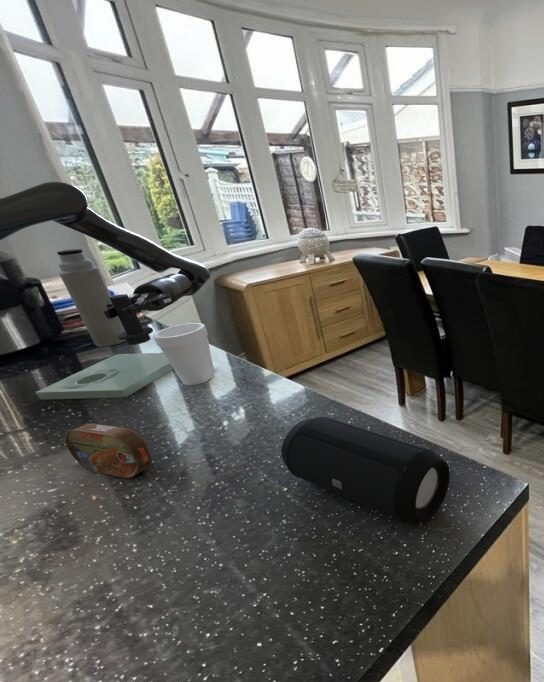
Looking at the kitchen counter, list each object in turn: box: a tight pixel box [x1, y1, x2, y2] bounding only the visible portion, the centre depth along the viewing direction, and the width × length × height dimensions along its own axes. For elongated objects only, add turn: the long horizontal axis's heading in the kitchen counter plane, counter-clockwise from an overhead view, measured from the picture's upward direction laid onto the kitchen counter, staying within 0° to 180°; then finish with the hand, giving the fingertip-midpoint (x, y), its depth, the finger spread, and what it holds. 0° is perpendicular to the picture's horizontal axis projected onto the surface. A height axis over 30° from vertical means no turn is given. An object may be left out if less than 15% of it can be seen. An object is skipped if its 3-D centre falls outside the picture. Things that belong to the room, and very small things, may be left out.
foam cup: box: [152, 322, 215, 386], centre depth 94 cm, size 10×9×13 cm
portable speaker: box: [280, 416, 451, 523], centre depth 59 cm, size 26×10×10 cm, turn 65°
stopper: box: [110, 293, 154, 346], centre depth 97 cm, size 7×7×12 cm
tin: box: [65, 422, 153, 479], centre depth 65 cm, size 15×3×8 cm, turn 76°
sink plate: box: [35, 352, 174, 401], centre depth 98 cm, size 20×20×2 cm
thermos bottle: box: [56, 248, 127, 348], centre depth 115 cm, size 8×8×28 cm
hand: (116, 313), depth 93 cm, fingers closed on stopper, 3 cm apart
